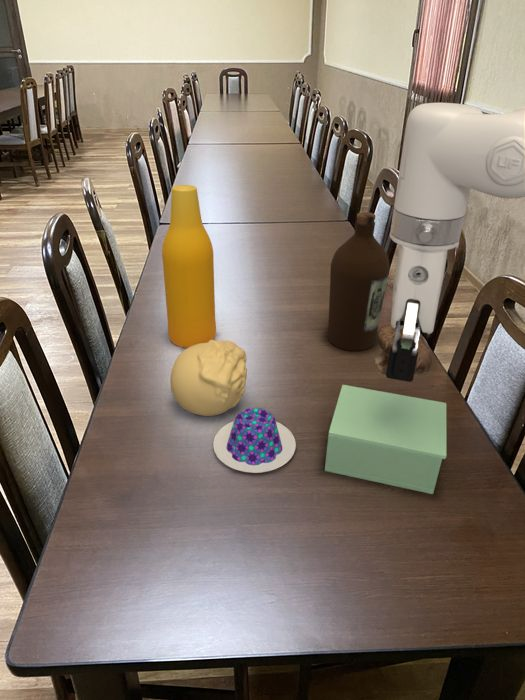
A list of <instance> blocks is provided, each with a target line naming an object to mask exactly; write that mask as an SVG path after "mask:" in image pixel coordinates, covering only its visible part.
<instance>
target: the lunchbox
mask: <svg viewBox="0 0 525 700" xmlns="http://www.w3.org/2000/svg"><path fill="white" fill-rule="evenodd" d="M325 453H326V454H325V462H324V472H327V473H333V474H337V475H341V476H347V477H351V478H356V479H360V480H365V481H369V482H375V483H379V484H384V485H386V486H387V485H388V486H393V487H397V488H402V489H407V490H409V491H410V490H411V491H416V492H420V493H424V494H429V495H433V494H434V492H435V488H436V485H437V481H438V476H439V472H440V469H441V466H442V462H443V459H442V458H437V457H432V456H427V455H422V454H417V453H412V452H407V451H402V450H397V449H392V448H387V447H382V446H377V445H372V444H367V443H362V442H357V441H352V440H347V439H342V438H337V437H332V436H327V445H326V452H325Z"/></svg>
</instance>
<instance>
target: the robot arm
mask: <svg viewBox="0 0 525 700" xmlns="http://www.w3.org/2000/svg"><path fill="white" fill-rule="evenodd" d="M399 164H400V165H399V171H398V177H397V186H396V192H395V197H394V205H393V211H392V217H391V223H390V232H389V238H390V239H391V241H393V242H394V243H395V244H397V245H398V250H397V251H398V252H397V257H396V262H395V263H396V264H395V271H394V279H393V286H392V287H393V288H392V298H391V315H390V324H391V326H392V327H393V328H394V329H395V327H396V331H395V337H394V343H393V348H390V354H389V360H388V366H387V371H386V374H385V377H386V378H387V379H391V380H397V381H402V382H409V383H411V382H413V381H414V378H415V377H414V376H415V374H414V372H415V367H416V362H417V357H418V352H417V348H418V342H419V338H420V335H421V332H422V333H425V334H427V335H430V334H432V333H433V332H434V329H435V325H436V324H435V323H436V317H437V312H438V307H439V303H440V297H441V292H442V287H443V282H444V278H445V271H446V264H447V258H448V251H449V250H453V249H455V248H456V247H458V246H459V244H460V239H461V234H462V231H463V226H464V221H465V217H466V211H467V207H468V203H469V198H470V193H471V190H474V191H477V192H480V193H483V194H485V195H489V196H492V197H496V198H501V199H521V198H522V199H523V198H525V104H523V105H521V106H519V107H516V109H513V110H511V111H510V112H509V111H508V112H505V113H494V114H493V113H492V114H491V113H488V114H487V113H483V112H482V110H481V109H479V108H478V107H475V106H473V105H468V104H462V103H453V102H427V103H426V102H425V103H421V104H418V105H417V106H415V107H413V108H412V109H411V111H410V112H409V114H408V116H407V120H406V125H405V130H404V137H403V144H402V151H401V158H400V163H399ZM400 331H403V333H402V338H400V339H399V335H400ZM414 333H415V336H414ZM413 339H414V340H413Z"/></svg>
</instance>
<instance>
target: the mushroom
mask: <svg viewBox="0 0 525 700" xmlns="http://www.w3.org/2000/svg"><path fill="white" fill-rule="evenodd" d="M395 331H396V327H395V329H394V328H393V327H392V326H391V323H390V324H386V325H382V326H381V327H380V328H378V329H377V334H376V341H377V343H378V344H379V346H380V349H381V350H382V351H381V353H380V354H378V355H377V356H375V358H374V365H375V366H376V368H377V370H378V372H380V373H381V374H382V375H386V371H387V366H388V360H389V354H390V348H393V343H394V337H395ZM402 333H403V331H400V335H399V339H400V338H402ZM414 336H415V333H414ZM413 340H414V339H413ZM417 352H418V357H417V362H416V367H415V372H414V375H417V376H419V377H420V376H425V375H426V374H428V373H429V371H430V370H431V367H432V363H433V358H432V357H433V356H432V352H431V349H430V347H429V346H428V345H427V343H426V342H425V341H424V340H423V339H422V338H421V337H419V342H418V348H417Z"/></svg>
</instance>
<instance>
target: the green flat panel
mask: <svg viewBox="0 0 525 700" xmlns="http://www.w3.org/2000/svg"><path fill="white" fill-rule="evenodd" d="M329 426H330V427H329V430H328V434H327V435H328V436H332V437H337V438H342V439H347V440H352V441H357V442H362V443H367V444H372V445H377V446H382V447H387V448H392V449H397V450H402V451H407V452H412V453H417V454H422V455H427V456H432V457H437V458H442V460H446V459H447V402H442V401H438V400H432V399H426V398H420V397H414V396H409V395H403V394H398V393H393V392H387V391H380V390H377V389H376V390H375V389H370V388H364V387H358V386H352V385H347V384H342V385H341V388H340V392H339V395H338V399H337V403H336V405H335V409H334V413H333V416H332V420H331V423H330V425H329ZM328 436H327V437H328Z"/></svg>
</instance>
